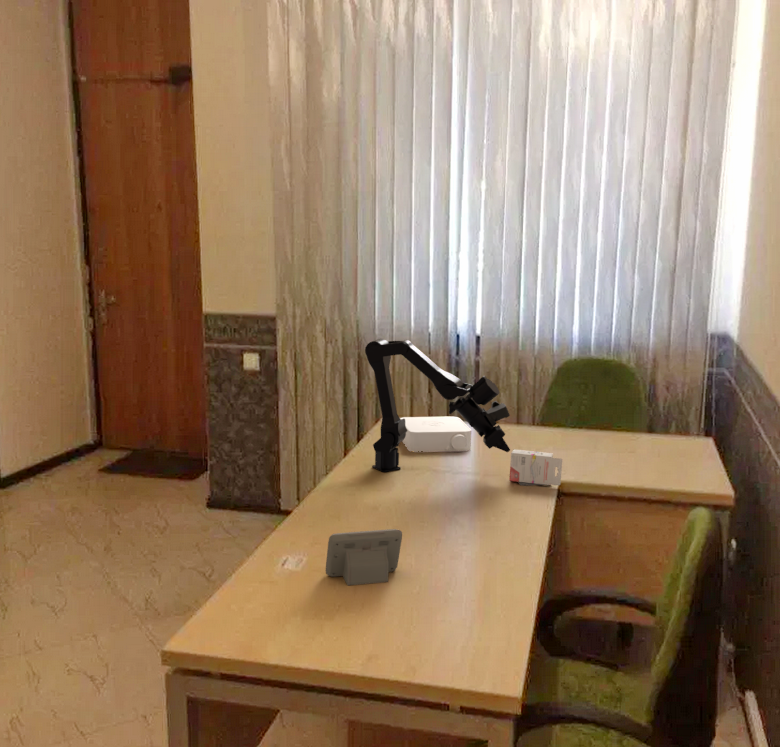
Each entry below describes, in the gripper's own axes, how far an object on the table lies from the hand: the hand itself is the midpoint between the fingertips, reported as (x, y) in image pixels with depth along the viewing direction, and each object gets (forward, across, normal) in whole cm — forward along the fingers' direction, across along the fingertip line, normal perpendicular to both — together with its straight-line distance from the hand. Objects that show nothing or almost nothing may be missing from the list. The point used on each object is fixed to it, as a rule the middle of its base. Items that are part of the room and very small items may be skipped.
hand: (508, 450), depth 258 cm
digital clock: (-25, -70, +38) cm, 83 cm away
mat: (+11, 0, +1) cm, 11 cm away
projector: (-6, +40, +19) cm, 44 cm away
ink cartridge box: (+3, -2, +2) cm, 4 cm away
